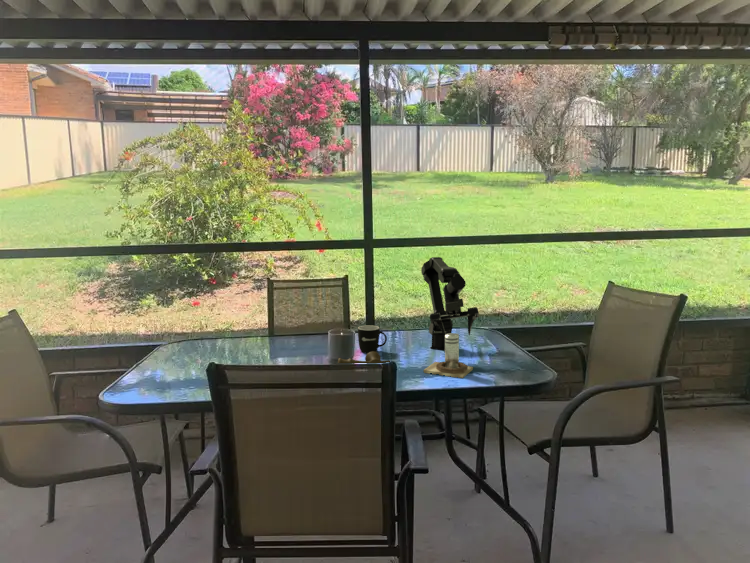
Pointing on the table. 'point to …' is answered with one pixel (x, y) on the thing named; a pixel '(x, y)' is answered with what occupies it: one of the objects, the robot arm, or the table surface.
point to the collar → (448, 370)
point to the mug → (369, 338)
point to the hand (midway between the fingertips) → (457, 336)
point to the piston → (451, 350)
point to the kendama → (370, 358)
